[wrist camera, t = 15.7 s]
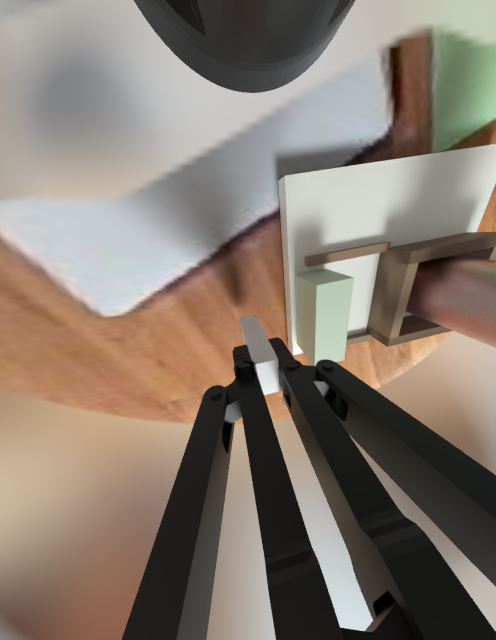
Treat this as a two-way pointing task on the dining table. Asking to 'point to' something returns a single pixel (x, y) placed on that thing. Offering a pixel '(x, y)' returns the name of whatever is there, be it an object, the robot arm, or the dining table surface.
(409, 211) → the board
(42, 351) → the dining table surface
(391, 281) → the socket
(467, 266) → the beverage can
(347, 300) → the block
